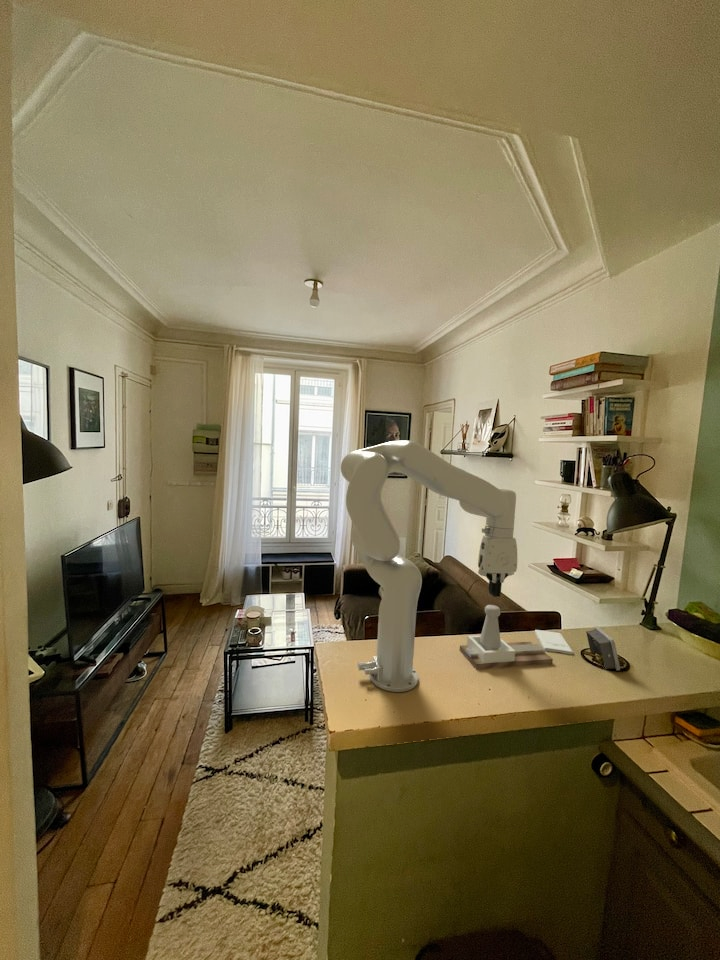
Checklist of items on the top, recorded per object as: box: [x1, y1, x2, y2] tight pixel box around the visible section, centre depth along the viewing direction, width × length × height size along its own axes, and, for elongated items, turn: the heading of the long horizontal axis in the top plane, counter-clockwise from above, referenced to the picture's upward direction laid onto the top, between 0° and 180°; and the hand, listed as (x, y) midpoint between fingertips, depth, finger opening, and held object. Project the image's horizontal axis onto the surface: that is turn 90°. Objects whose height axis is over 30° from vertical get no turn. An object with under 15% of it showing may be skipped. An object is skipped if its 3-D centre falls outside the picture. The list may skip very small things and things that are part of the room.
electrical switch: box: [585, 625, 621, 672], centre depth 109 cm, size 9×5×9 cm, turn 174°
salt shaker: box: [480, 604, 501, 651], centre depth 108 cm, size 6×6×13 cm
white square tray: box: [466, 634, 515, 663], centre depth 109 cm, size 10×10×3 cm
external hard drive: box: [534, 629, 574, 655], centre depth 120 cm, size 2×8×12 cm
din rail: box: [465, 643, 546, 658], centre depth 110 cm, size 24×4×1 cm, turn 101°
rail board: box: [459, 641, 553, 670], centre depth 110 cm, size 24×10×2 cm, turn 101°
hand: (494, 594), depth 107 cm, fingers closed
